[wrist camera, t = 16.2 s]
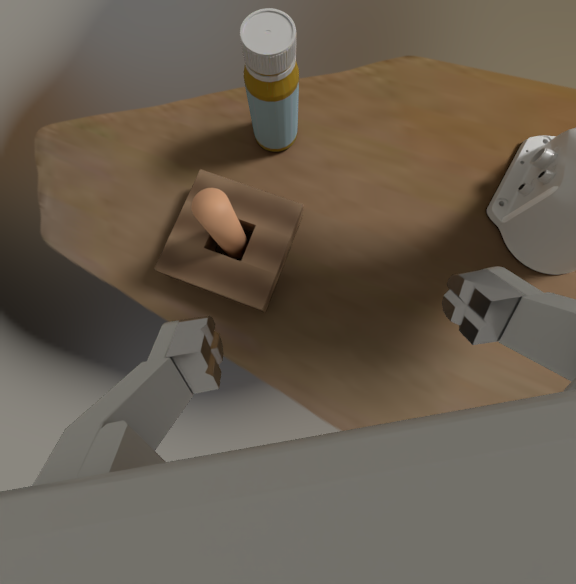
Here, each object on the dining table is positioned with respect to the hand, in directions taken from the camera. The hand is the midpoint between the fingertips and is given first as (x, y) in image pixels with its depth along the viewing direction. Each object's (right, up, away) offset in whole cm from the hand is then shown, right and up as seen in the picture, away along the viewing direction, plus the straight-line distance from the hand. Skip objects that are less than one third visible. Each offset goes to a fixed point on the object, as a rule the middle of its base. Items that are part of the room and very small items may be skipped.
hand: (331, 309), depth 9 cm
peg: (-10, +8, +31) cm, 33 cm away
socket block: (-10, +8, +31) cm, 33 cm away
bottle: (-4, +27, +34) cm, 43 cm away
